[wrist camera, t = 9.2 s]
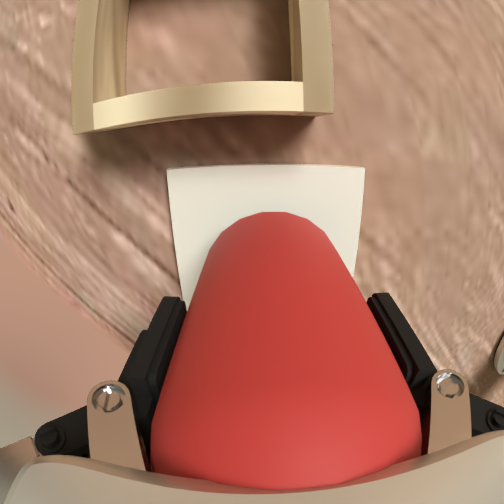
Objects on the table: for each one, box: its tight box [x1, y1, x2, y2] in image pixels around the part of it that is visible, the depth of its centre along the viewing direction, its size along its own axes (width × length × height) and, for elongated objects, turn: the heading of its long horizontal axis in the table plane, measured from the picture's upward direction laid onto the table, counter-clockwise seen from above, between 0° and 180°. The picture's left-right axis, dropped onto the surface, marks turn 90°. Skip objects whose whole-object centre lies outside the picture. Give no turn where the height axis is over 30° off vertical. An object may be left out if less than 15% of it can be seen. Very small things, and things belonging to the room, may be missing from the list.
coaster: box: [167, 164, 365, 311], centre depth 16 cm, size 10×10×1 cm
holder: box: [71, 0, 334, 135], centre depth 9 cm, size 11×11×4 cm
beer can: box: [150, 212, 422, 490], centre depth 9 cm, size 7×7×12 cm
